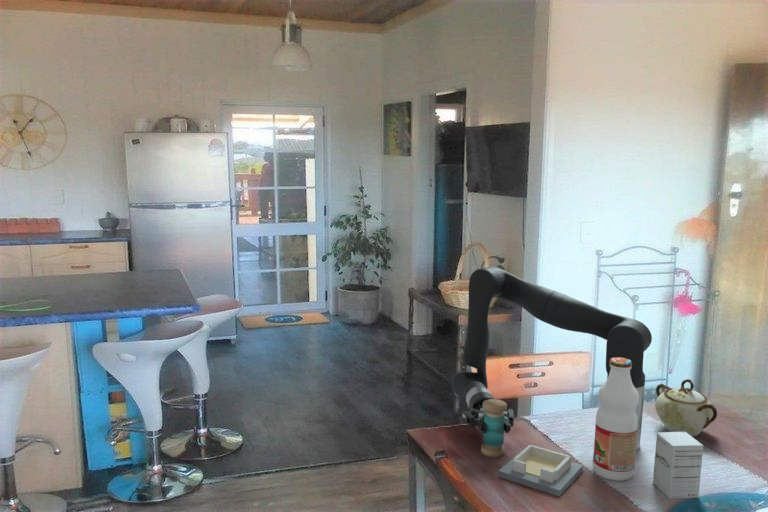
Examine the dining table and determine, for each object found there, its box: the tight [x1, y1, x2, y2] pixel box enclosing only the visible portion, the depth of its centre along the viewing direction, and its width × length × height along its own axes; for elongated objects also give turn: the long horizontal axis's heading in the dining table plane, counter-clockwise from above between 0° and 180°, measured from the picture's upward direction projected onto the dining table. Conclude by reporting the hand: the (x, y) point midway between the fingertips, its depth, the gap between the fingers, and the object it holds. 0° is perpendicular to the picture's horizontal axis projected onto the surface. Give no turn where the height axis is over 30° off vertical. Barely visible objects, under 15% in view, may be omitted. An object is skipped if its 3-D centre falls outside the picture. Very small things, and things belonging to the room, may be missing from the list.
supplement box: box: [652, 431, 704, 499], centre depth 147 cm, size 7×7×13 cm
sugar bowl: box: [654, 378, 718, 437], centre depth 180 cm, size 20×15×15 cm
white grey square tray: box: [497, 444, 584, 497], centre depth 154 cm, size 15×15×4 cm
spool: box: [480, 398, 508, 458], centre depth 165 cm, size 6×6×13 cm
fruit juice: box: [592, 357, 639, 482], centre depth 154 cm, size 9×9×28 cm
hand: (496, 429), depth 162 cm, fingers closed on spool, 5 cm apart
